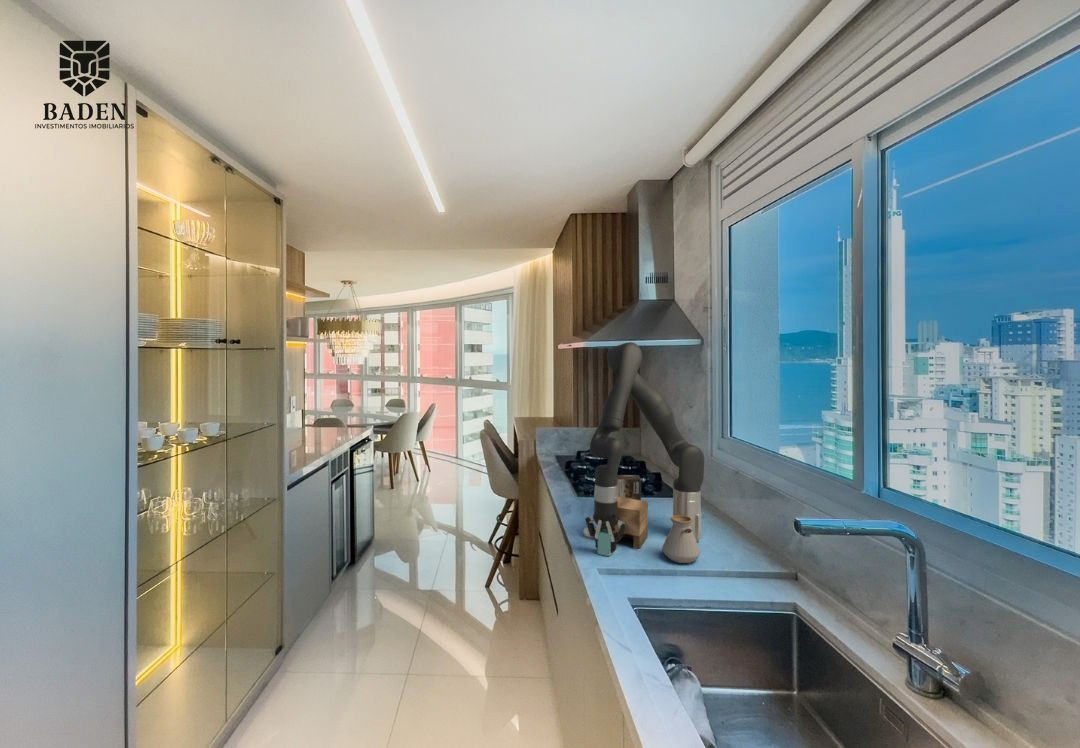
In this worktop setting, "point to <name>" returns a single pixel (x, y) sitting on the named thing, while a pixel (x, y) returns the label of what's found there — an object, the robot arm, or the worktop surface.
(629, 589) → the worktop surface
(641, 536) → the cabinet
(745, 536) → the worktop surface
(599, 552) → the sage green eraser
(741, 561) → the worktop surface
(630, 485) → the coffee box
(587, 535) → the steel token
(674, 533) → the coffee pot
